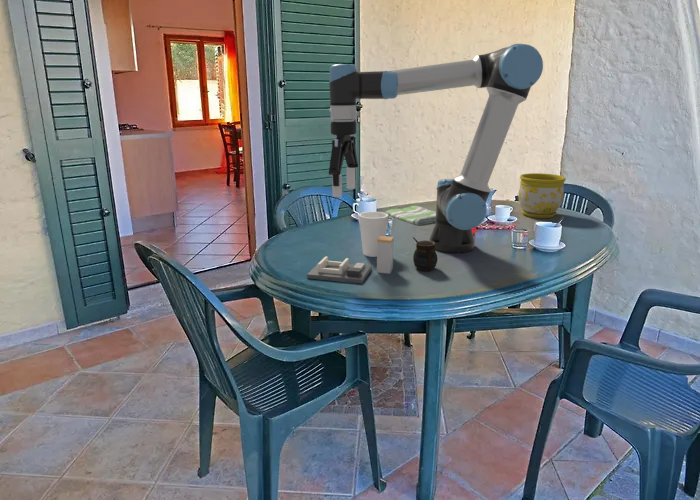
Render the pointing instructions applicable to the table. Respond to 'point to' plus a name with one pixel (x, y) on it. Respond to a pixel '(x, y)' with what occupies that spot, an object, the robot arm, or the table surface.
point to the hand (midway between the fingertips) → (344, 192)
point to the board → (340, 271)
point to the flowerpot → (540, 194)
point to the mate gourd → (425, 255)
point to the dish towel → (413, 215)
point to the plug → (385, 254)
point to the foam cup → (372, 230)
